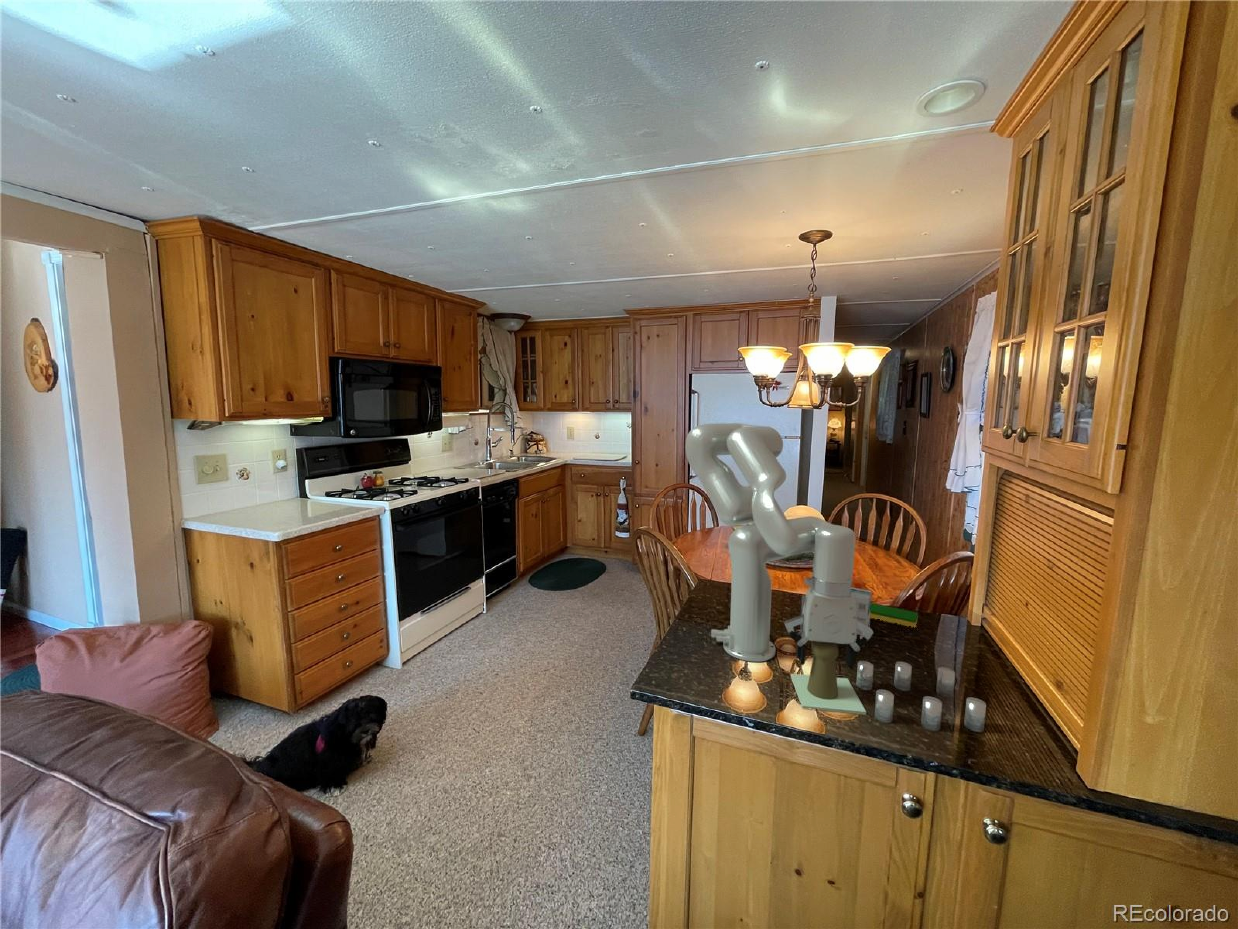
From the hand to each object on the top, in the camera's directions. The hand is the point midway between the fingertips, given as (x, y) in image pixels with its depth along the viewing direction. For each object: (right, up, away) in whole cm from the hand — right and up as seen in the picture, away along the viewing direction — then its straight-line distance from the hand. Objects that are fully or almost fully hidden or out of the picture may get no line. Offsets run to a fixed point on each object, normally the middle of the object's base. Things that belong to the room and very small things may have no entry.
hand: (825, 663), depth 102 cm
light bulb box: (+19, -3, +31) cm, 37 cm away
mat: (0, -7, 0) cm, 7 cm away
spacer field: (+17, -7, -3) cm, 19 cm away
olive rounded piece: (0, -6, 0) cm, 6 cm away
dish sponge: (+35, -3, +38) cm, 52 cm away
